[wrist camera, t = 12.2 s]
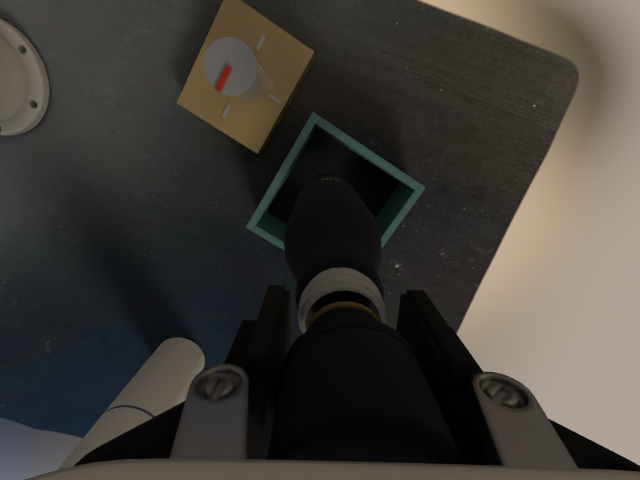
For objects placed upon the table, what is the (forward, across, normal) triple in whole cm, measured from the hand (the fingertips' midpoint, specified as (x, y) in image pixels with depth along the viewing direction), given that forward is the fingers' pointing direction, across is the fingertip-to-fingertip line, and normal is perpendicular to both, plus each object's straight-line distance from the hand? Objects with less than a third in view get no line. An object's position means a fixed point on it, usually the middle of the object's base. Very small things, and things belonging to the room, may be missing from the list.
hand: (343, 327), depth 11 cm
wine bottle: (+24, 0, 0) cm, 24 cm away
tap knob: (+27, +9, -13) cm, 31 cm away
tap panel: (+30, +9, -12) cm, 34 cm away
